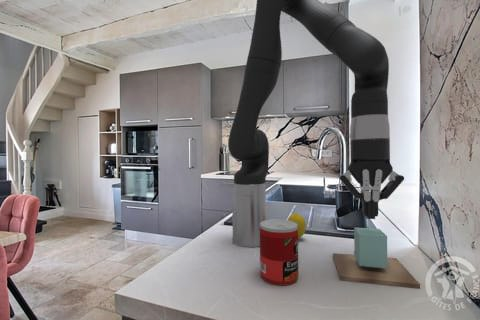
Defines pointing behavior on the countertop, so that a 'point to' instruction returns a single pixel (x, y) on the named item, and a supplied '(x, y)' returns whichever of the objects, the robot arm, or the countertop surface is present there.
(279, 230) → the canned food
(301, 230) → the lemon
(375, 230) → the mint foam cube
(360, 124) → the robot arm
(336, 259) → the stand
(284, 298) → the countertop surface
